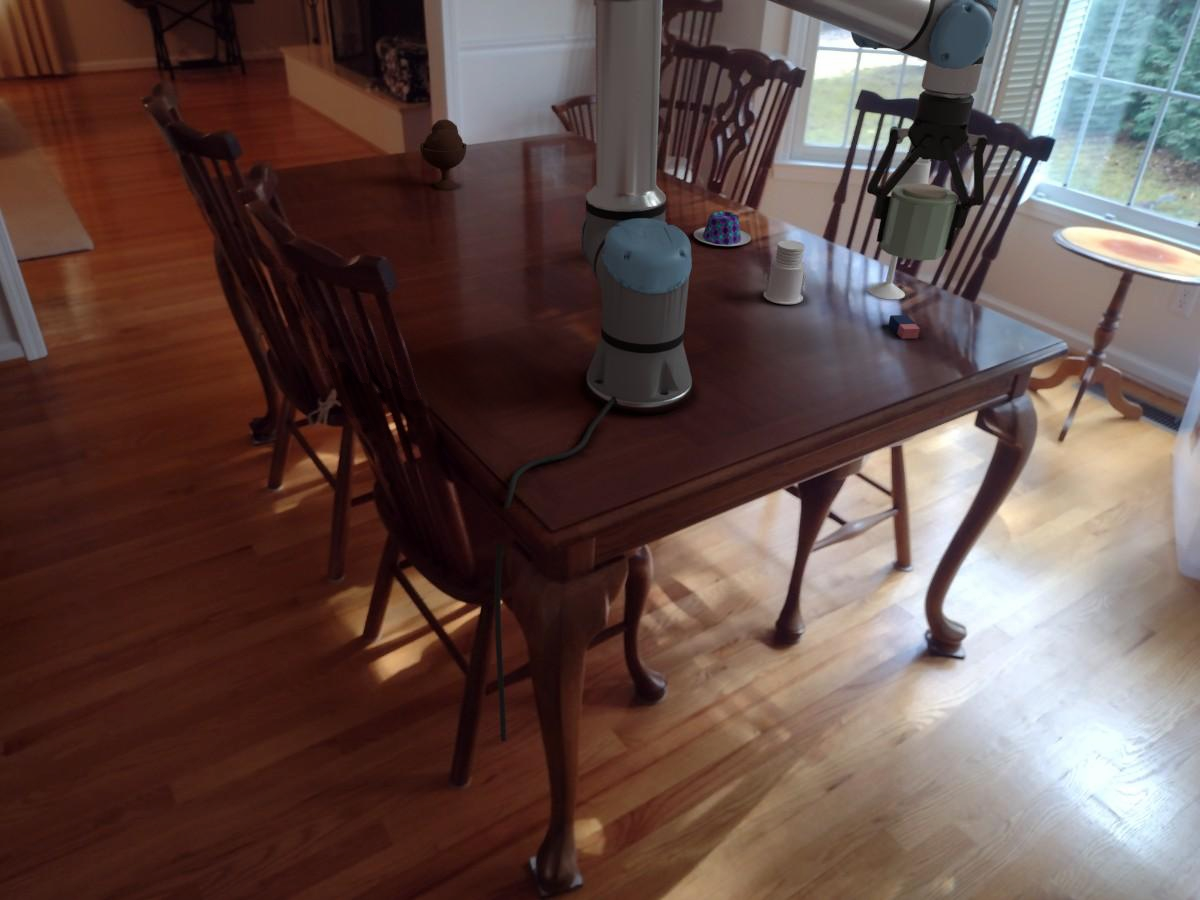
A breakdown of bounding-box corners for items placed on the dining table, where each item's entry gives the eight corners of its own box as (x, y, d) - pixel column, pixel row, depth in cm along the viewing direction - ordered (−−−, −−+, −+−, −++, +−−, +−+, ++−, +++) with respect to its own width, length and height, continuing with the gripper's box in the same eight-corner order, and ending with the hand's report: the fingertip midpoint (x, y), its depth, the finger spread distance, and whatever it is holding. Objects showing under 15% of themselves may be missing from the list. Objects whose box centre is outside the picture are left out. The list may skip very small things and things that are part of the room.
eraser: (917, 338, 145) (920, 327, 144) (901, 338, 144) (904, 328, 143) (903, 324, 149) (906, 314, 148) (887, 324, 149) (890, 314, 148)
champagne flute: (860, 287, 163) (888, 156, 150) (890, 283, 165) (920, 154, 152) (882, 301, 157) (913, 166, 144) (912, 297, 160) (945, 164, 146)
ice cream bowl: (417, 182, 210) (412, 117, 202) (461, 178, 214) (458, 114, 206) (429, 194, 202) (424, 127, 194) (475, 190, 206) (472, 124, 198)
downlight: (770, 307, 153) (779, 253, 148) (754, 292, 159) (761, 239, 154) (811, 304, 155) (821, 250, 150) (794, 289, 161) (802, 236, 155)
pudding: (723, 226, 190) (725, 202, 187) (762, 242, 182) (765, 218, 179) (681, 236, 183) (683, 211, 181) (720, 253, 175) (723, 228, 173)
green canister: (944, 263, 132) (959, 201, 127) (879, 255, 135) (892, 194, 130) (942, 243, 140) (957, 184, 135) (881, 236, 142) (893, 177, 137)
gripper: (1027, 94, 125) (986, 244, 137) (869, 81, 130) (842, 227, 142) (1033, 104, 119) (989, 260, 131) (866, 90, 124) (839, 242, 136)
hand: (913, 243), depth 137 cm, fingers closed on green canister, 10 cm apart
